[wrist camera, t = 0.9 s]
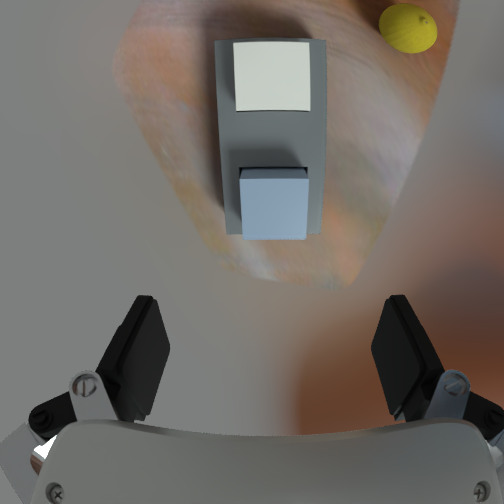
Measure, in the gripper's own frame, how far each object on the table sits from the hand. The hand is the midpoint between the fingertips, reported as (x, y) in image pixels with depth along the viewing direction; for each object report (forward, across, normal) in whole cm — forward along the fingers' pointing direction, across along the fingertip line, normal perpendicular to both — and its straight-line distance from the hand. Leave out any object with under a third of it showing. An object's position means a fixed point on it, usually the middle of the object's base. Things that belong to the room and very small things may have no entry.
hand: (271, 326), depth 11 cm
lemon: (+22, -14, -18) cm, 32 cm away
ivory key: (+20, 0, -11) cm, 23 cm away
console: (+23, 0, -5) cm, 23 cm away
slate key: (+21, 0, +1) cm, 21 cm away
